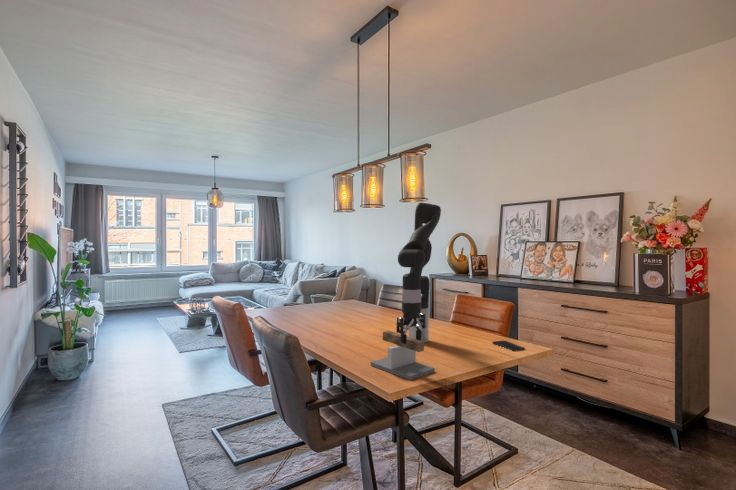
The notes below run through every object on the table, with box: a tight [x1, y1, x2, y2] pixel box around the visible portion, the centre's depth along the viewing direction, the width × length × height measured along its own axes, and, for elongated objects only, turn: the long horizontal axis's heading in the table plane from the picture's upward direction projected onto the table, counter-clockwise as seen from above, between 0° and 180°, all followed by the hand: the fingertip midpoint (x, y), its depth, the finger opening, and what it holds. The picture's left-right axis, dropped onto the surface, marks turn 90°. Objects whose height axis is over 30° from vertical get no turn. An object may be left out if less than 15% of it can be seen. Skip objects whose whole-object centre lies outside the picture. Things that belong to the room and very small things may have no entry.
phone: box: [492, 340, 526, 352], centre depth 190 cm, size 8×1×15 cm
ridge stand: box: [370, 345, 436, 381], centre depth 156 cm, size 22×14×10 cm, turn 41°
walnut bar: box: [382, 330, 425, 353], centre depth 156 cm, size 20×3×4 cm, turn 41°
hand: (411, 341), depth 152 cm, fingers open, 8 cm apart
